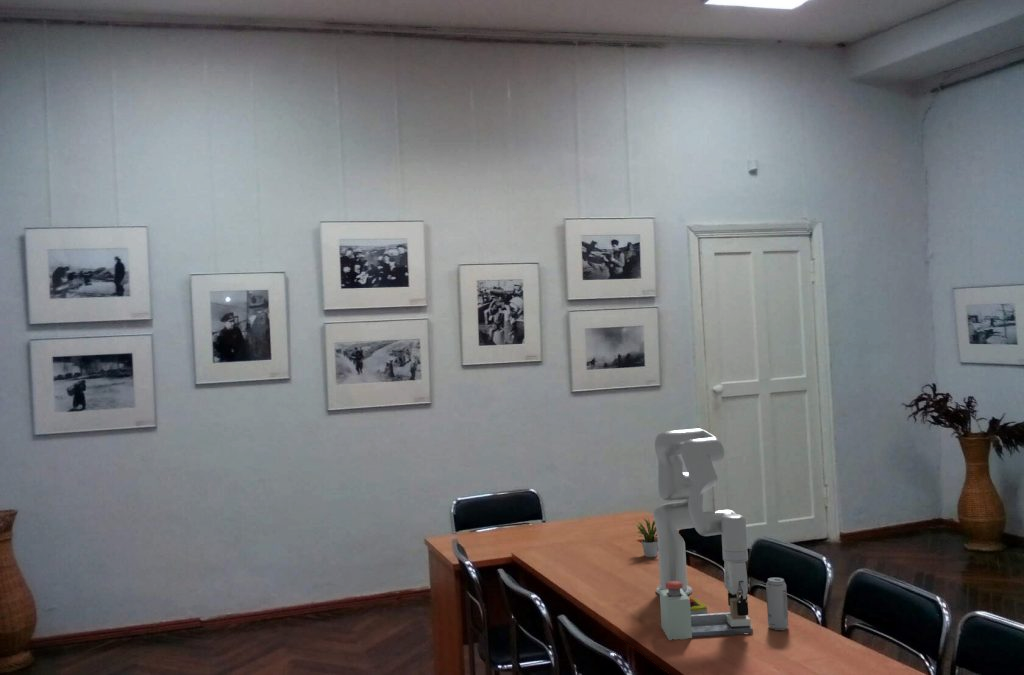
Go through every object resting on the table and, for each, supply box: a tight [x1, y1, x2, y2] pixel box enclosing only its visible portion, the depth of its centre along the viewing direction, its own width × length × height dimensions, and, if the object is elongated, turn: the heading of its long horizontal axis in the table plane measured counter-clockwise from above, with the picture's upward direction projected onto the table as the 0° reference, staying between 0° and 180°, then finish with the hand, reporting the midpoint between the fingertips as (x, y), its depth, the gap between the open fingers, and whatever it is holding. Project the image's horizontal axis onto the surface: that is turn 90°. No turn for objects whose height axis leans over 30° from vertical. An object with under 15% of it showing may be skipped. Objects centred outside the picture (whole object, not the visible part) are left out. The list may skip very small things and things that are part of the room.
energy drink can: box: [765, 576, 789, 631], centre depth 268 cm, size 6×6×15 cm
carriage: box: [727, 598, 752, 627], centre depth 269 cm, size 5×6×8 cm
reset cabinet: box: [659, 589, 692, 641], centre depth 268 cm, size 11×7×12 cm, turn 2°
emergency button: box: [689, 597, 708, 615], centre depth 289 cm, size 9×4×15 cm
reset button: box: [665, 581, 683, 597], centre depth 268 cm, size 5×5×6 cm
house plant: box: [636, 517, 659, 558], centre depth 363 cm, size 14×14×16 cm
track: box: [691, 612, 754, 638], centre depth 269 cm, size 9×19×4 cm, turn 92°
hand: (738, 610), depth 269 cm, fingers open, 9 cm apart
